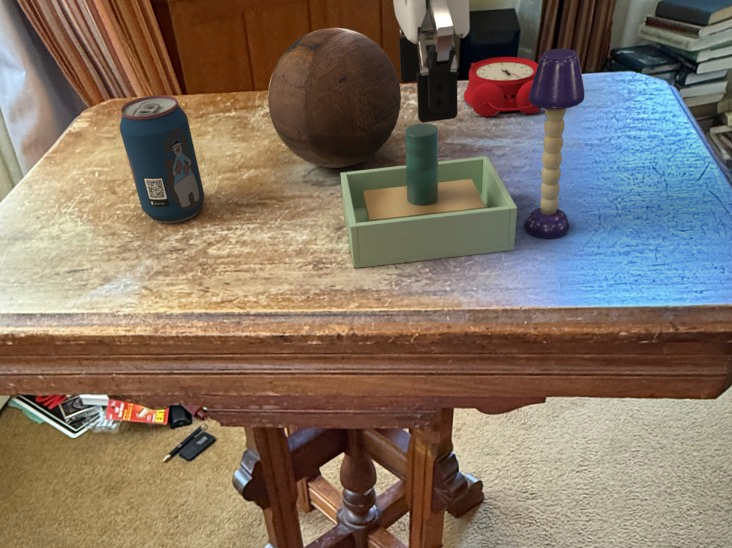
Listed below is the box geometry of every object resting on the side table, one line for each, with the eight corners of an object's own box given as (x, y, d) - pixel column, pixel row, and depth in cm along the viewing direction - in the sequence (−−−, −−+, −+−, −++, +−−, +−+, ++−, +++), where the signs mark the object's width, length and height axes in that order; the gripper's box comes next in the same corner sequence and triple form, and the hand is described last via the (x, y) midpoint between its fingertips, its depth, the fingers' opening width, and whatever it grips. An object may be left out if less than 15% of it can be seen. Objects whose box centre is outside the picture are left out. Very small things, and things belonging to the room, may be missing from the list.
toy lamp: (519, 239, 69) (534, 63, 59) (517, 215, 73) (530, 45, 62) (571, 238, 68) (596, 60, 58) (566, 214, 72) (588, 42, 62)
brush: (371, 247, 69) (365, 149, 63) (364, 216, 74) (358, 123, 68) (484, 234, 69) (489, 136, 63) (470, 205, 74) (474, 110, 68)
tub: (485, 195, 76) (487, 155, 74) (514, 250, 68) (517, 207, 65) (343, 211, 76) (340, 172, 73) (353, 268, 67) (350, 226, 65)
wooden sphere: (421, 143, 88) (420, 14, 79) (370, 199, 78) (361, 58, 69) (315, 130, 94) (302, 8, 85) (254, 180, 84) (231, 48, 75)
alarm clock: (536, 53, 99) (560, 63, 86) (534, 100, 102) (557, 117, 88) (460, 58, 100) (472, 69, 87) (460, 105, 103) (472, 122, 89)
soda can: (157, 196, 83) (130, 93, 76) (214, 196, 82) (192, 91, 74) (134, 226, 78) (103, 119, 70) (195, 227, 76) (169, 118, 69)
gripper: (501, -122, 46) (493, 131, 57) (448, -146, 60) (449, 62, 71) (386, -106, 46) (399, 143, 57) (359, -134, 60) (374, 72, 71)
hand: (427, 98), depth 64 cm, fingers open, 9 cm apart
